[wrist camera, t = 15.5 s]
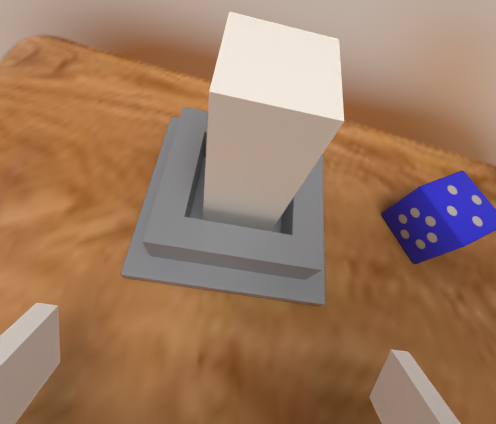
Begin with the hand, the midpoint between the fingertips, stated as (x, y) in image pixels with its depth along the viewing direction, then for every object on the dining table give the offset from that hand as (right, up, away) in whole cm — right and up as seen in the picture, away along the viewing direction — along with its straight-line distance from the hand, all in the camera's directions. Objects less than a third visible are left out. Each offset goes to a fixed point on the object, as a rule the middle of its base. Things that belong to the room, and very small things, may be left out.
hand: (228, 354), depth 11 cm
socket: (0, +6, +12) cm, 13 cm away
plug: (0, +7, +11) cm, 13 cm away
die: (+16, +4, +14) cm, 22 cm away
